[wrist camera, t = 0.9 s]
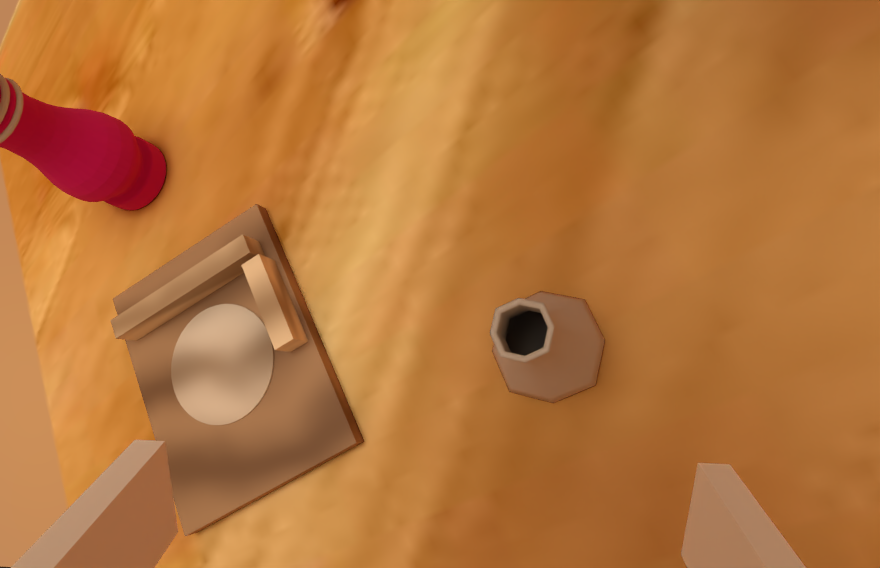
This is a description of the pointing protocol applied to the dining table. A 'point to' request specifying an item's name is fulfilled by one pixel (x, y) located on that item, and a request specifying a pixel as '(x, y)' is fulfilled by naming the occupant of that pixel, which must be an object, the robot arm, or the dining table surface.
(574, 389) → the flask
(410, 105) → the dining table surface
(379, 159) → the dining table surface
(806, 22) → the dining table surface
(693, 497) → the robot arm
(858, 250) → the dining table surface
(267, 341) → the jig board
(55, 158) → the pepper mill
